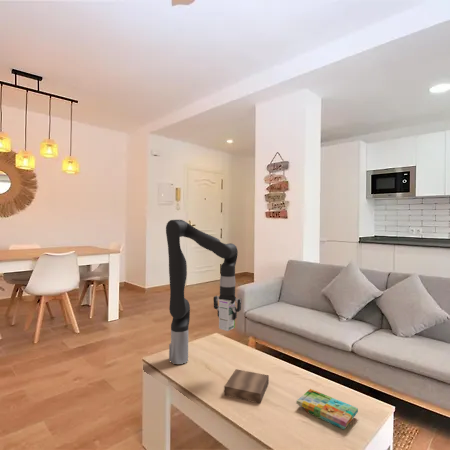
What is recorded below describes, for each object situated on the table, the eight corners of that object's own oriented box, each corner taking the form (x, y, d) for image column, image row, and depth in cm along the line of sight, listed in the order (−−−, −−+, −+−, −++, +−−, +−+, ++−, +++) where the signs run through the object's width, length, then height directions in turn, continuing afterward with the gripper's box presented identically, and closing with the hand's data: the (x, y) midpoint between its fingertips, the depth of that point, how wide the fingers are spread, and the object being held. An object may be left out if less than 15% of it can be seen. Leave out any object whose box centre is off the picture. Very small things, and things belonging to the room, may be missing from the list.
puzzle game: (346, 421, 111) (296, 398, 124) (346, 433, 111) (296, 409, 124) (358, 406, 119) (310, 386, 133) (357, 418, 119) (310, 397, 133)
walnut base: (224, 395, 133) (224, 386, 133) (235, 377, 148) (235, 369, 148) (260, 403, 128) (260, 393, 128) (268, 383, 143) (268, 375, 143)
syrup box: (228, 331, 146) (228, 301, 146) (218, 328, 150) (218, 299, 149) (235, 328, 151) (235, 298, 150) (225, 325, 154) (226, 296, 154)
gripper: (210, 285, 149) (210, 319, 149) (239, 287, 144) (238, 323, 144) (216, 282, 156) (216, 314, 156) (244, 284, 151) (243, 318, 151)
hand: (227, 318), depth 150 cm, fingers closed on syrup box, 6 cm apart
